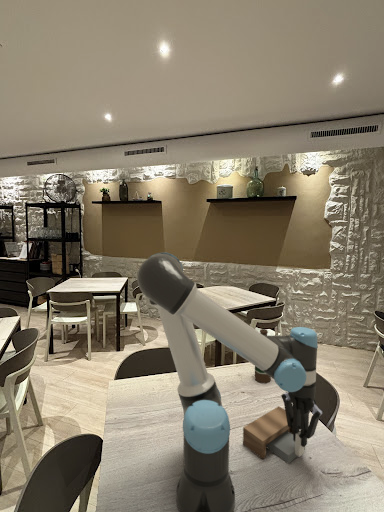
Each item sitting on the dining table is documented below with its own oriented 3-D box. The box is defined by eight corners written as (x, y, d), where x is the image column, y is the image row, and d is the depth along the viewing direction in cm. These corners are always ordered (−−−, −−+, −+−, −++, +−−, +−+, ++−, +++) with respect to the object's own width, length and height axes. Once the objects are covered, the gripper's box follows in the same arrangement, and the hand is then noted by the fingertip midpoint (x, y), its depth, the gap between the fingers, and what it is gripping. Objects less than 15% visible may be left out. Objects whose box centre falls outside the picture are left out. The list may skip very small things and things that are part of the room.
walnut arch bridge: (262, 459, 89) (263, 441, 88) (242, 444, 95) (243, 427, 95) (297, 433, 100) (298, 417, 100) (278, 421, 107) (278, 406, 106)
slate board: (288, 464, 87) (288, 455, 87) (259, 443, 96) (259, 435, 96) (305, 451, 93) (305, 442, 92) (276, 432, 101) (276, 424, 101)
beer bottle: (267, 385, 132) (269, 333, 130) (251, 380, 136) (252, 330, 134) (273, 378, 138) (274, 329, 136) (257, 373, 142) (258, 326, 140)
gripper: (329, 384, 85) (326, 460, 86) (290, 368, 95) (288, 436, 97) (316, 393, 80) (312, 473, 82) (276, 374, 90) (274, 446, 92)
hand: (299, 453), depth 89 cm, fingers closed
